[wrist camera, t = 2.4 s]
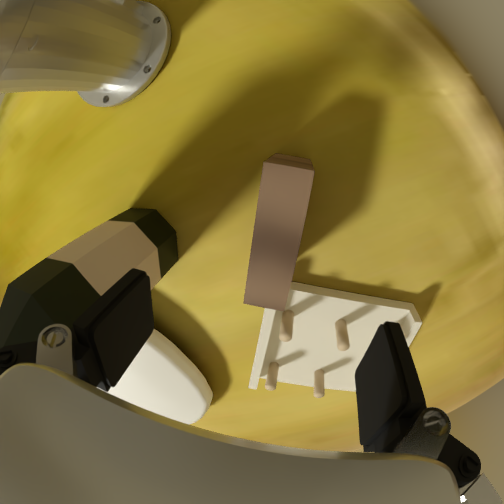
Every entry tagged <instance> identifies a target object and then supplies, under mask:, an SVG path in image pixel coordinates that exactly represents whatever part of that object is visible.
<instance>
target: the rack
mask: <svg viewBox="0 0 504 504" xmlns="http://www.w3.org/2000/svg"><path fill="white" fill-rule="evenodd" d="M385 321H389V322H396V323H399V324H400V326H401V328H402V331H403V334H404V336H405V339H406V342H407V345H408V347H409V346H410V344H411V342H412V340H413V339H414V337H415V335H416V333H417V332H418V330H419V328H420V326H421V324H422V321H421V319H420V317H419V315H418V313H417V311H416V309H415V307H414V305H413V303H408V302H402V301H396V300H390V299H384V298H379V297H373V296H367V295H362V294H356V293H351V292H345V291H340V290H334V289H329V288H323V287H318V286H313V285H308V284H302V283H297V282H291V286H290V290H289V294H288V298H287V302H286V306H285V310H284V312H283V311H278V310H273V309H268V308H265V310H264V315H263V320H262V325H261V330H260V335H259V340H258V345H257V350H256V354H255V359H254V364H253V368H252V373H251V378H250V382H249V387H248V388H251V389H257V385H258V381H259V378H263V379H266V384H265V388H266V389H267V390H275V389H276V383H277V381H279V382H285V383H291V384H297V385H304V386H311V387H314V397H316V398H321V397H323V396H324V388H326V389H335V390H345V391H356V385H355V371H356V369H357V367H358V365H359V363H360V362H361V360H362V358H363V356H364V354H365V352H366V351H367V349H368V347H369V345H370V343H371V341H372V339H373V337H374V335H375V333H376V331H377V329H378V327H379V325H380V324H384V322H385Z"/></svg>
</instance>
